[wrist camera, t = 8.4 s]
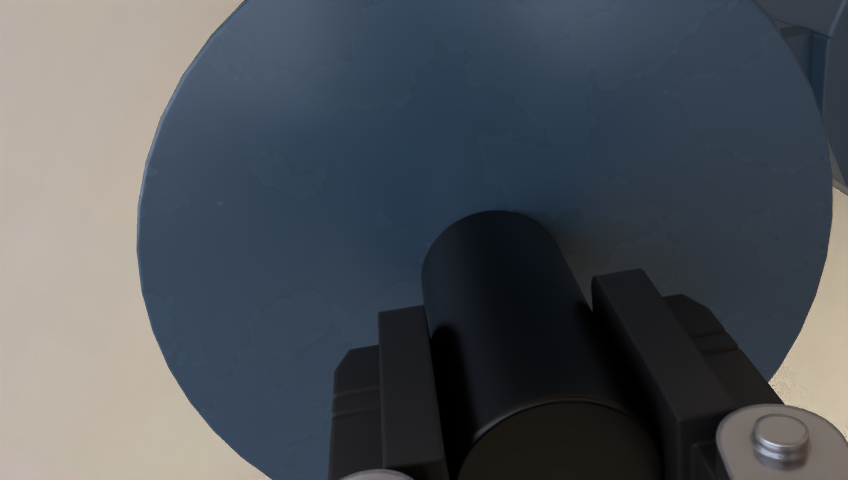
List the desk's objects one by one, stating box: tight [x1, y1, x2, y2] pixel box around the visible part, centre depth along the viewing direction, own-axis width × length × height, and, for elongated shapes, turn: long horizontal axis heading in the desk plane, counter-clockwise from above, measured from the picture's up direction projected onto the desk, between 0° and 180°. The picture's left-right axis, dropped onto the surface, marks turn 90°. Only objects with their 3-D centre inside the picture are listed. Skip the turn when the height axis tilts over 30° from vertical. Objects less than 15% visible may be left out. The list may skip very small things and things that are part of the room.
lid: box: [137, 0, 833, 480], centre depth 12 cm, size 13×13×7 cm
